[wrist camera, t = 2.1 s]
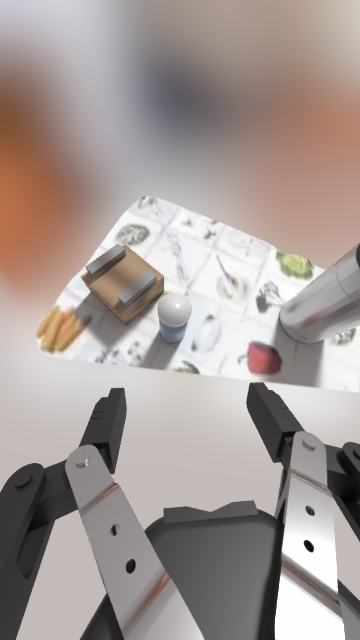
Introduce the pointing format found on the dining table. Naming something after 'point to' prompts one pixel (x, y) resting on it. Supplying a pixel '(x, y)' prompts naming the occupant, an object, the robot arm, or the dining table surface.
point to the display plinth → (123, 282)
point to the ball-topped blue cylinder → (173, 316)
